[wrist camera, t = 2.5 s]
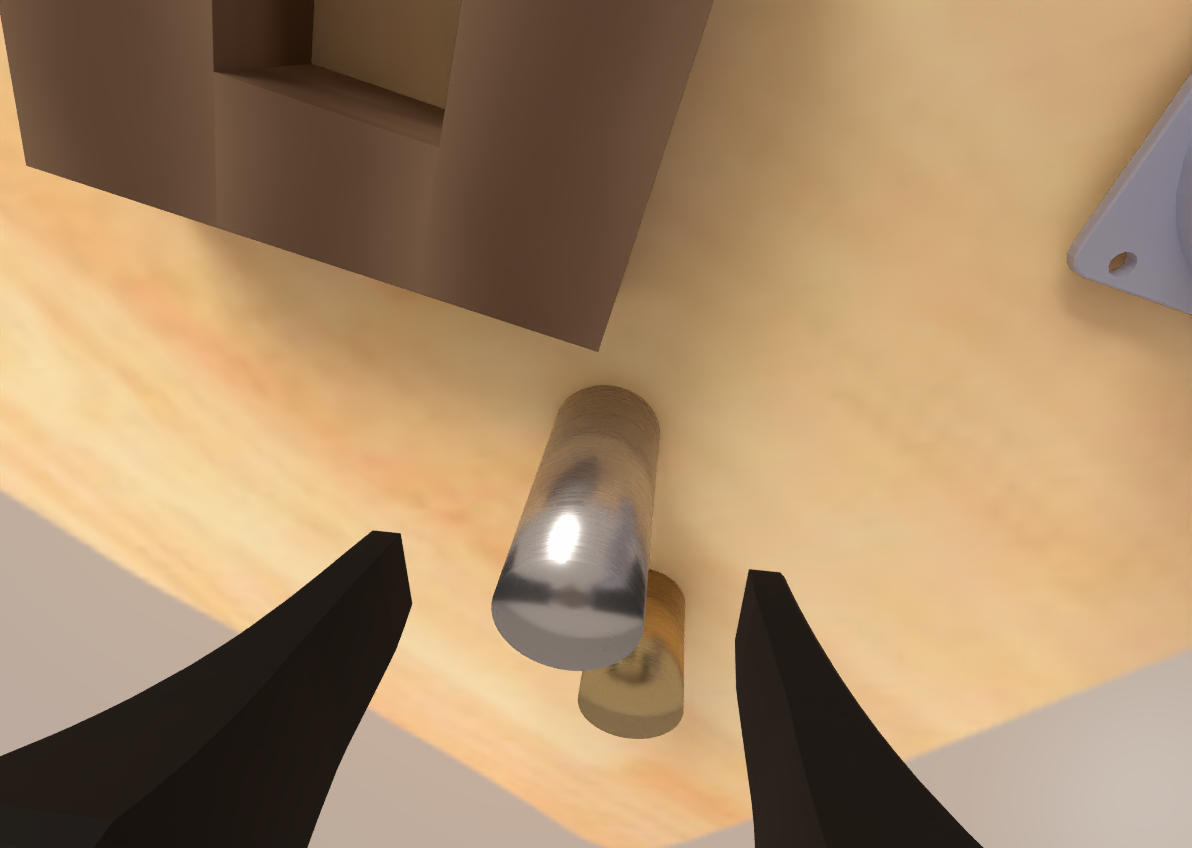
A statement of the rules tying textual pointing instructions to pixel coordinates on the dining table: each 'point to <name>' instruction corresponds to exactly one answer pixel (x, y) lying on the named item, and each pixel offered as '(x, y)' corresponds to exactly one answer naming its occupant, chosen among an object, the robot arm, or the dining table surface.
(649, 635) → the brass pin
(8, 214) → the dining table surface
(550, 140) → the walnut block
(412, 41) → the dining table surface
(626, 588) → the steel pin
